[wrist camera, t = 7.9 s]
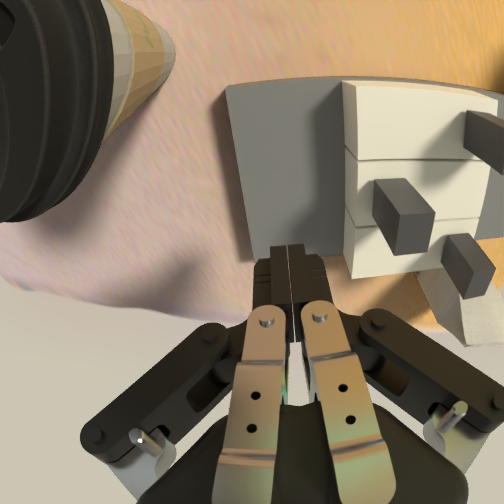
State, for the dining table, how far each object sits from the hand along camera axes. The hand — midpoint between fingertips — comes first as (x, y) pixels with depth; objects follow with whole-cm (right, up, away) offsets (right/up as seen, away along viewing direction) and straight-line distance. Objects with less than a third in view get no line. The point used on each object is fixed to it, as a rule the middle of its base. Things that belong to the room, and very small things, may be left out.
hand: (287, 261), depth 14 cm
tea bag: (+18, -1, +13) cm, 23 cm away
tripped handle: (+6, +4, +3) cm, 8 cm away
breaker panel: (+10, +7, +7) cm, 14 cm away
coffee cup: (-9, +14, +3) cm, 17 cm away
